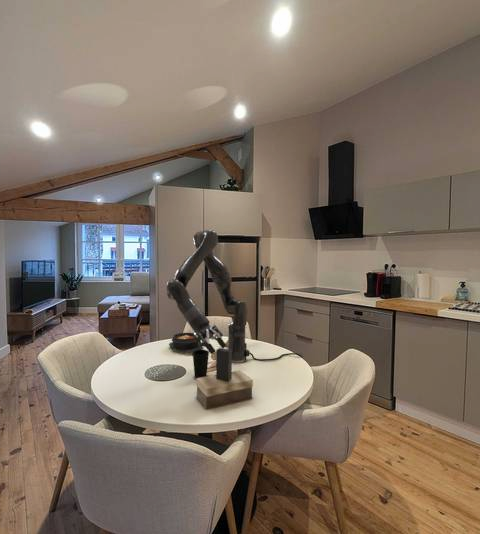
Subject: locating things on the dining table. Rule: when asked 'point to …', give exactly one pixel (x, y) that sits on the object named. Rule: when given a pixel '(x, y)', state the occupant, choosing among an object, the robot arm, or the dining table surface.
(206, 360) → the cup
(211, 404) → the lidded shoe box
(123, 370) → the dining table surface
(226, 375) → the dark grey rectangular block
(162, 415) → the dining table surface
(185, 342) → the casserole
